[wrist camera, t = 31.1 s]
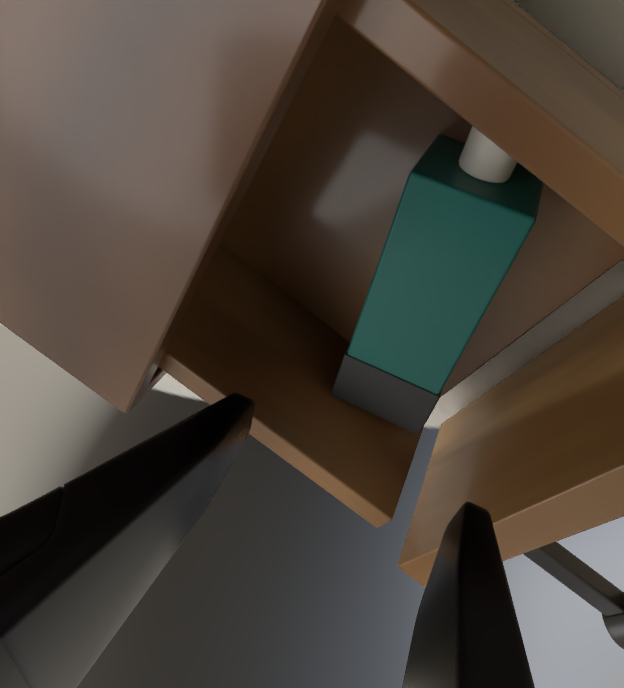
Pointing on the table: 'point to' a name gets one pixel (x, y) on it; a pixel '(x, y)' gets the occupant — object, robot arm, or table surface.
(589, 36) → the table surface
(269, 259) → the drawer
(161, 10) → the cabinet
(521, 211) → the teal square bottle
